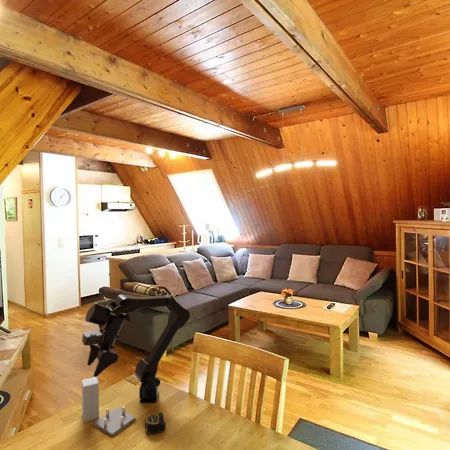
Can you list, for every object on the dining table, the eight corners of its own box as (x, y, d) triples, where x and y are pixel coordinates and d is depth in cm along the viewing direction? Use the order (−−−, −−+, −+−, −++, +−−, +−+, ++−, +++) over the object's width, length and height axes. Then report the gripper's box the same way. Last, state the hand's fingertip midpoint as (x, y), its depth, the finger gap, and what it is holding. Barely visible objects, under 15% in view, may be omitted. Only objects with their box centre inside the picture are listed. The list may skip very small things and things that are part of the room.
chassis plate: (117, 409, 121) (116, 400, 121) (135, 419, 116) (135, 410, 116) (93, 425, 113) (93, 415, 113) (112, 436, 108) (112, 426, 107)
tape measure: (165, 433, 110) (166, 423, 109) (145, 438, 107) (145, 427, 107) (163, 420, 116) (163, 410, 116) (143, 424, 114) (143, 414, 114)
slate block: (96, 409, 121) (96, 376, 120) (99, 417, 117) (98, 383, 116) (82, 413, 119) (81, 380, 118) (84, 422, 114) (83, 386, 114)
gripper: (85, 314, 121) (64, 355, 118) (98, 331, 106) (75, 378, 103) (112, 322, 127) (93, 361, 124) (127, 339, 112) (106, 384, 109)
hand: (91, 370), depth 115 cm, fingers open, 9 cm apart
